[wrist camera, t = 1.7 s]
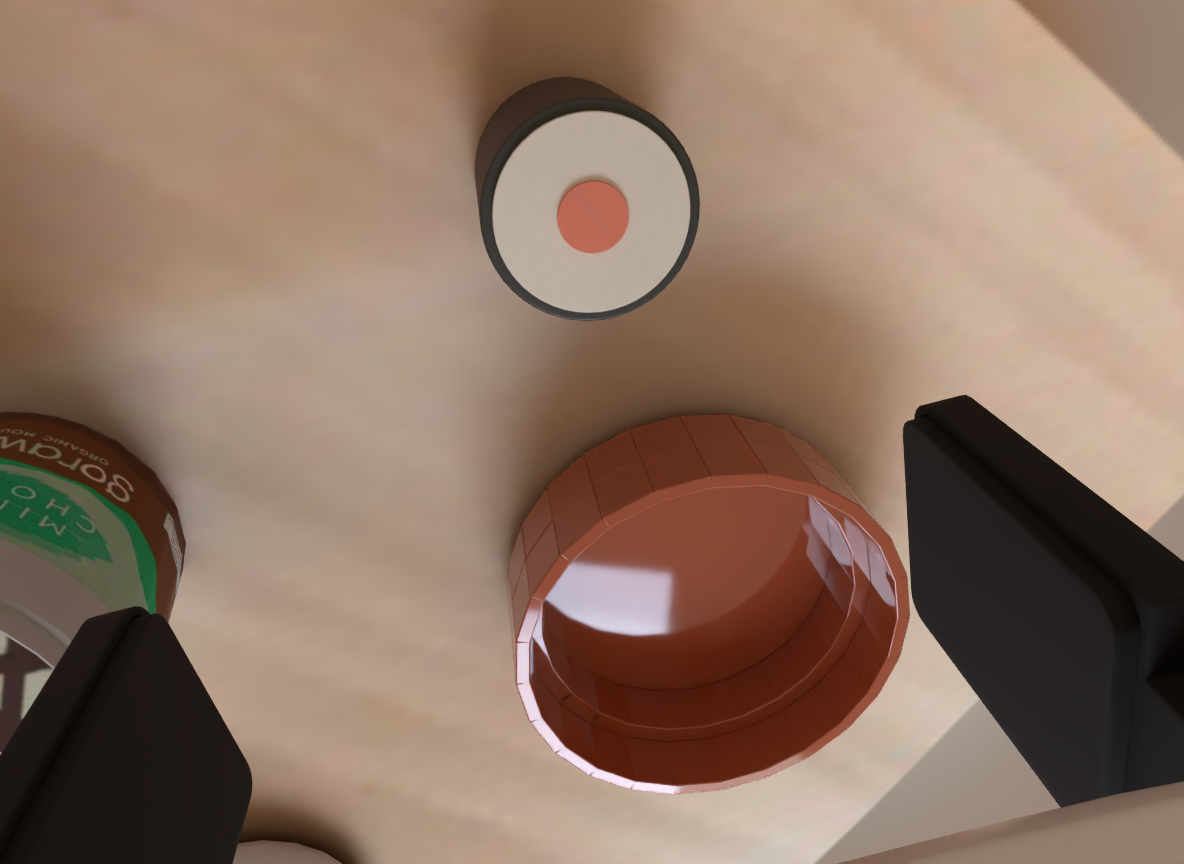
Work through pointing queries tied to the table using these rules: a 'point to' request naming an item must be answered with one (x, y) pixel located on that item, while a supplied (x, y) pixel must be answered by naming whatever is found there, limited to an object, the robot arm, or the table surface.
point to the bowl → (701, 606)
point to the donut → (279, 853)
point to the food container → (73, 546)
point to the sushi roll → (584, 199)
